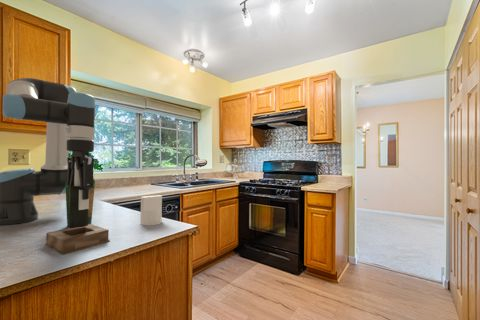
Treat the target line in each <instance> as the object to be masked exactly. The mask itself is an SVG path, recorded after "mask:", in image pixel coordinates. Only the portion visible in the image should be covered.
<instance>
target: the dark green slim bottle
mask: <svg viewBox="0 0 480 320" xmlns="http://www.w3.org/2000/svg"><path fill="white" fill-rule="evenodd" d="M79 188H81V187H80V179H79V171H78V170H77V168H76V162H75V177H74V185H73V186H71V188H70V208H69V226H68V228H76V227H84V226H88V209H84V210H79V190H78V189H79Z"/></svg>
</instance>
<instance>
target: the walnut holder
mask: <svg viewBox="0 0 480 320" xmlns="http://www.w3.org/2000/svg"><path fill="white" fill-rule="evenodd" d="M45 239H46V240H45V241H46V243H44V246H45V247H48V248H49V249H51V250H53V251H55V252H56V253H59V254H61V255H67V254H71V253H73V252H77V251H81V250H84V249H87V248H91V247H94V246H99V245H103V244H105V243H108V242H110V239H109V229H108V228H104V227H101V226H99V225H95V224H92V223H91V224H88V226H84V227H76V228H69V227H68V228H62V229H58V230H54V231H48V232H46V238H45Z"/></svg>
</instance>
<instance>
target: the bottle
mask: <svg viewBox="0 0 480 320" xmlns="http://www.w3.org/2000/svg"><path fill="white" fill-rule="evenodd" d="M65 186H66V193H65V202H66V203H65V208H66V224H67V225H66V226H67V227H69V208H70V207H69V206H70V188H69V186H67V181H66V182H65ZM95 186H96V180H95V179H94V178H93V188H90V189H89V209H88V224H92V220H93V219H92V218H93V210H94V209H93V207H94V199H95V198H94V197H95Z"/></svg>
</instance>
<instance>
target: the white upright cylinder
mask: <svg viewBox="0 0 480 320" xmlns="http://www.w3.org/2000/svg"><path fill="white" fill-rule="evenodd" d="M162 206H163V195H161V194H158V195H145V196H141V197H140V220H139V221H140V223H139V224H140V225H142V226H156V225H159V224H161V223H162V218H163V217H162V216H163V215H162V214H163V212H162V211H163V208H162Z"/></svg>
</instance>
